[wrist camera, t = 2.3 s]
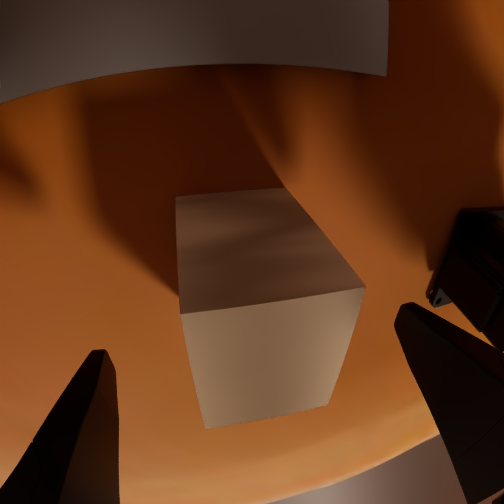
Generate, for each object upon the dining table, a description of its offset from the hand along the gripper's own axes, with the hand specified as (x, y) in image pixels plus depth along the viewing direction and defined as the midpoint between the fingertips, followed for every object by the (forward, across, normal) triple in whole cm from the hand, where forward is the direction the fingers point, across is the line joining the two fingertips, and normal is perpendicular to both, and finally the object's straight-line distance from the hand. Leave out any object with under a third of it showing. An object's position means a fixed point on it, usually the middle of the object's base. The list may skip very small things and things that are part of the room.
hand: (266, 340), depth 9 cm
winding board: (+5, +6, -15) cm, 17 cm away
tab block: (+5, 0, 0) cm, 5 cm away
